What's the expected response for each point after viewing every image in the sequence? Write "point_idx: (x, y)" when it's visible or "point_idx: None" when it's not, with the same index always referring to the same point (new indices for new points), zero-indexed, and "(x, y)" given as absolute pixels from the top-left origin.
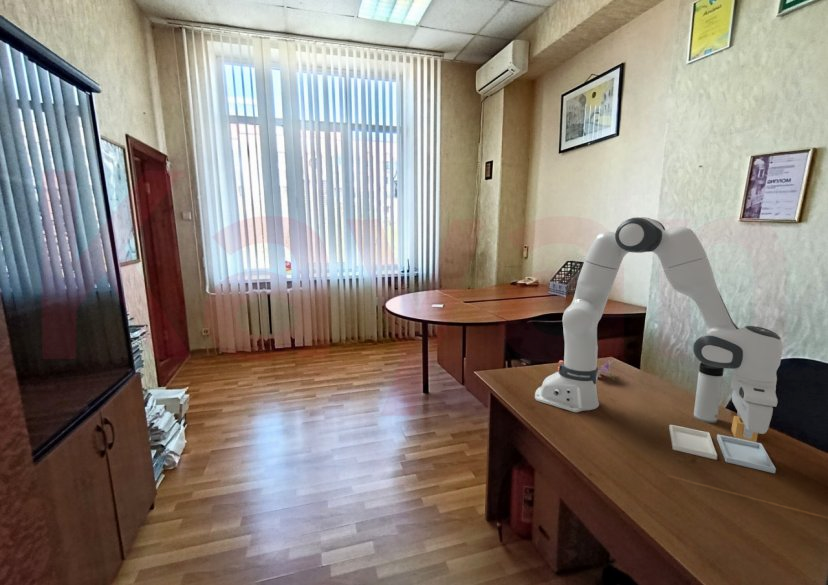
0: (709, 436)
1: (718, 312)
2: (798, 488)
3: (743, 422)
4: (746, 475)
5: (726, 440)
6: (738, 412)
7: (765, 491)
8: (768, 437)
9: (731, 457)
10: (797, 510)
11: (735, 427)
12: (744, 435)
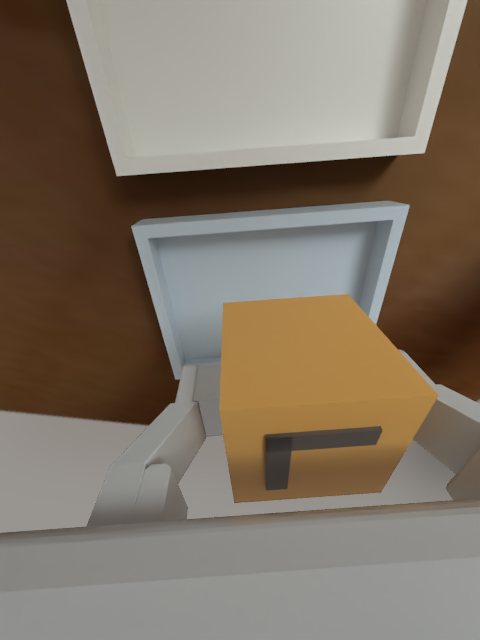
0: (365, 150)
1: None
2: (142, 396)
3: (19, 548)
4: (100, 287)
5: (374, 246)
6: (400, 534)
7: (33, 328)
8: (450, 375)
9: (205, 250)
10: (3, 381)
11: (259, 346)
12: (184, 375)
